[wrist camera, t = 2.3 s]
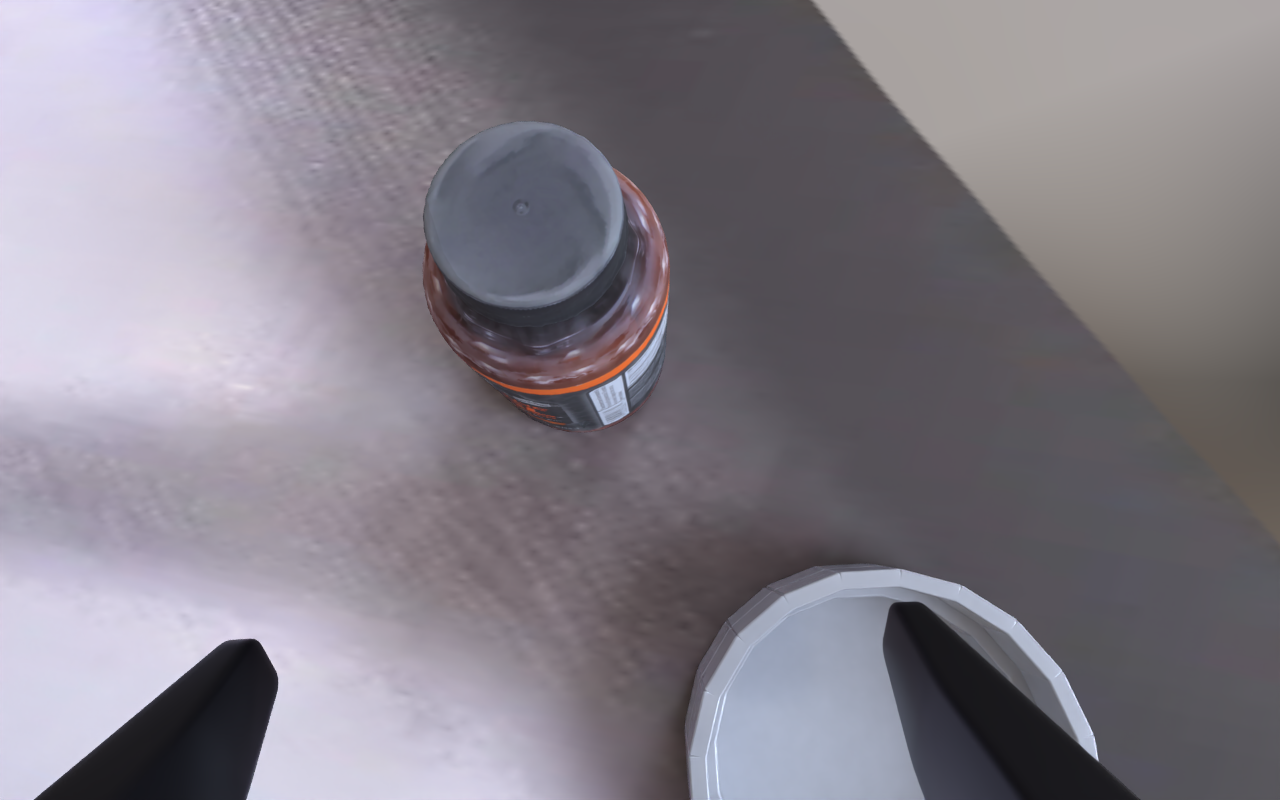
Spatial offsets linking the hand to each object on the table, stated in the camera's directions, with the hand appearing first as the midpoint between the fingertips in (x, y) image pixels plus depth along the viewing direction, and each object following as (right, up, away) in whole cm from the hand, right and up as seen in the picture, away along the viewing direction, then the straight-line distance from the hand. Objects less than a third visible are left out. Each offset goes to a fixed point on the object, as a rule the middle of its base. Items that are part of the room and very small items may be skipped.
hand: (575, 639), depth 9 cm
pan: (+8, -7, +12) cm, 16 cm away
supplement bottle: (-1, +5, +15) cm, 16 cm away
